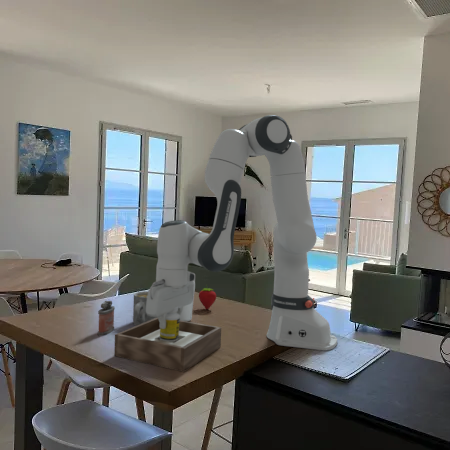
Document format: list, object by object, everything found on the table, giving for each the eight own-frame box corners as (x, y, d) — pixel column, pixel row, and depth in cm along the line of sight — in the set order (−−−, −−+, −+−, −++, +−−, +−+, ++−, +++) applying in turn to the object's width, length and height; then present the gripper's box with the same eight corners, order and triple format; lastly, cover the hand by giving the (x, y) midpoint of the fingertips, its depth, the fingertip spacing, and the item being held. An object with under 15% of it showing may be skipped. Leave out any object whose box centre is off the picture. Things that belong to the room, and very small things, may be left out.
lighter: (107, 327, 150) (107, 298, 150) (116, 328, 150) (117, 299, 149) (95, 335, 142) (95, 303, 142) (105, 336, 142) (105, 304, 141)
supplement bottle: (179, 342, 128) (180, 309, 127) (159, 342, 127) (161, 308, 126) (177, 336, 133) (179, 303, 132) (159, 336, 132) (161, 303, 132)
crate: (220, 347, 136) (221, 327, 135) (183, 371, 116) (184, 348, 115) (158, 335, 145) (159, 316, 144) (114, 355, 125) (114, 334, 124)
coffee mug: (145, 317, 165) (146, 290, 164) (167, 322, 160) (168, 294, 159) (119, 325, 153) (120, 296, 153) (142, 331, 148) (143, 301, 148)
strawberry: (211, 312, 176) (212, 286, 175) (194, 309, 179) (195, 284, 179) (218, 309, 181) (219, 284, 180) (203, 306, 184) (204, 282, 184)
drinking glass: (192, 322, 160) (194, 280, 159) (173, 321, 160) (175, 279, 159) (194, 317, 167) (195, 277, 166) (176, 316, 167) (177, 276, 166)
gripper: (161, 284, 118) (159, 336, 119) (198, 273, 137) (196, 318, 138) (141, 281, 121) (139, 332, 122) (180, 271, 139) (178, 315, 140)
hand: (169, 325), depth 130 cm, fingers closed on supplement bottle, 5 cm apart
